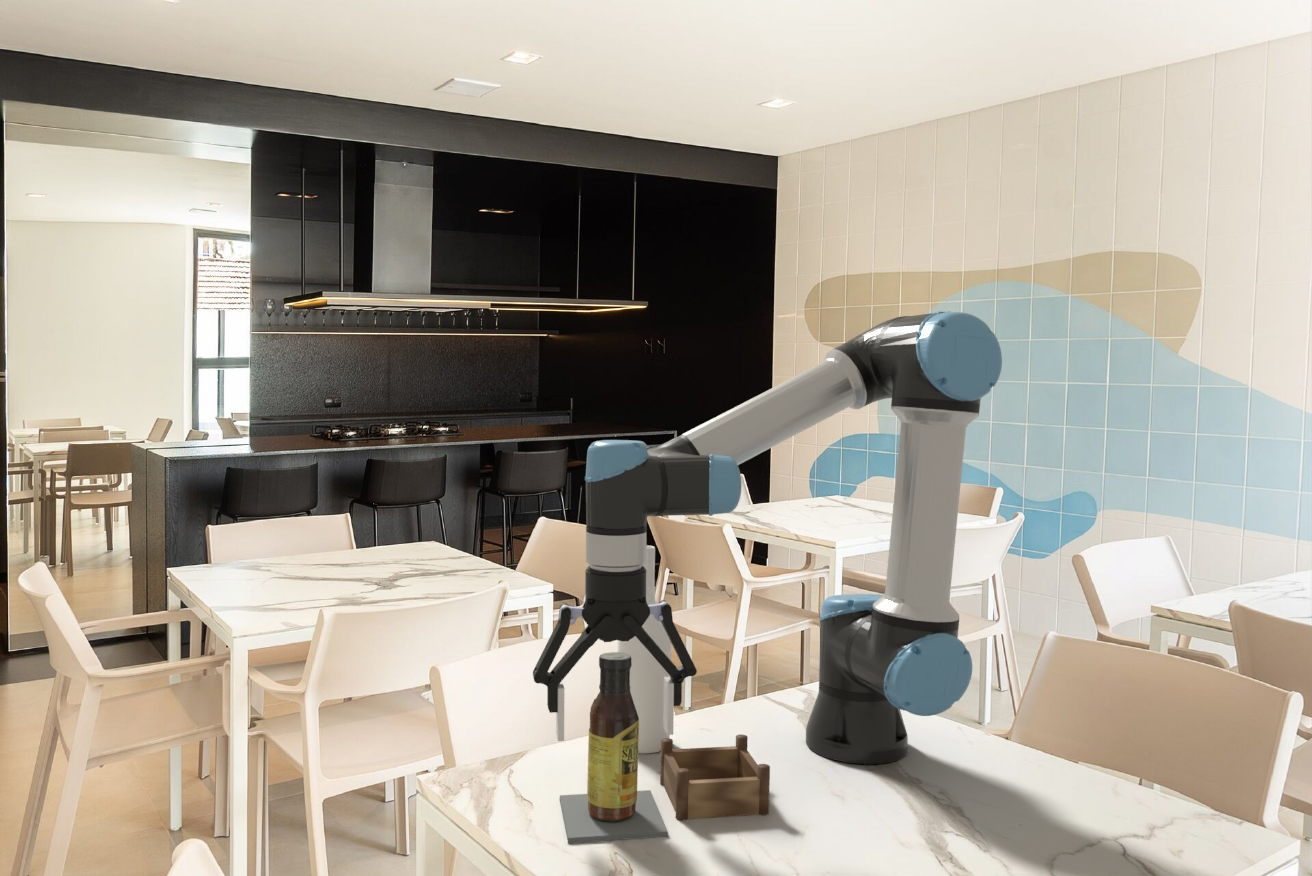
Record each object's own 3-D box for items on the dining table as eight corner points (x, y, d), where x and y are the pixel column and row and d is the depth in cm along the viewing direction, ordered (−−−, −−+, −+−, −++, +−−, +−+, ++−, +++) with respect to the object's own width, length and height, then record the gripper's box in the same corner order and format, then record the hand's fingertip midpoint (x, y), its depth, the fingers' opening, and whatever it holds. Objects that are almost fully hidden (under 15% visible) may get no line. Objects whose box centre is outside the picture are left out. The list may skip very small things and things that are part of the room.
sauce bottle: (630, 826, 119) (633, 665, 117) (580, 821, 120) (583, 661, 119) (642, 804, 125) (645, 651, 124) (594, 799, 126) (597, 647, 125)
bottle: (675, 752, 144) (679, 550, 143) (621, 755, 142) (625, 552, 141) (662, 732, 152) (666, 541, 150) (611, 736, 150) (614, 542, 149)
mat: (650, 794, 129) (650, 790, 129) (667, 836, 118) (667, 831, 118) (559, 799, 127) (559, 795, 127) (567, 842, 115) (568, 837, 115)
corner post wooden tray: (744, 776, 136) (745, 734, 135) (770, 814, 124) (771, 768, 124) (659, 781, 134) (660, 738, 133) (677, 820, 122) (677, 773, 121)
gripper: (707, 557, 126) (705, 718, 128) (512, 562, 122) (512, 728, 123) (721, 568, 119) (719, 739, 120) (515, 574, 115) (514, 751, 116)
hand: (614, 734), depth 122 cm, fingers open, 13 cm apart
